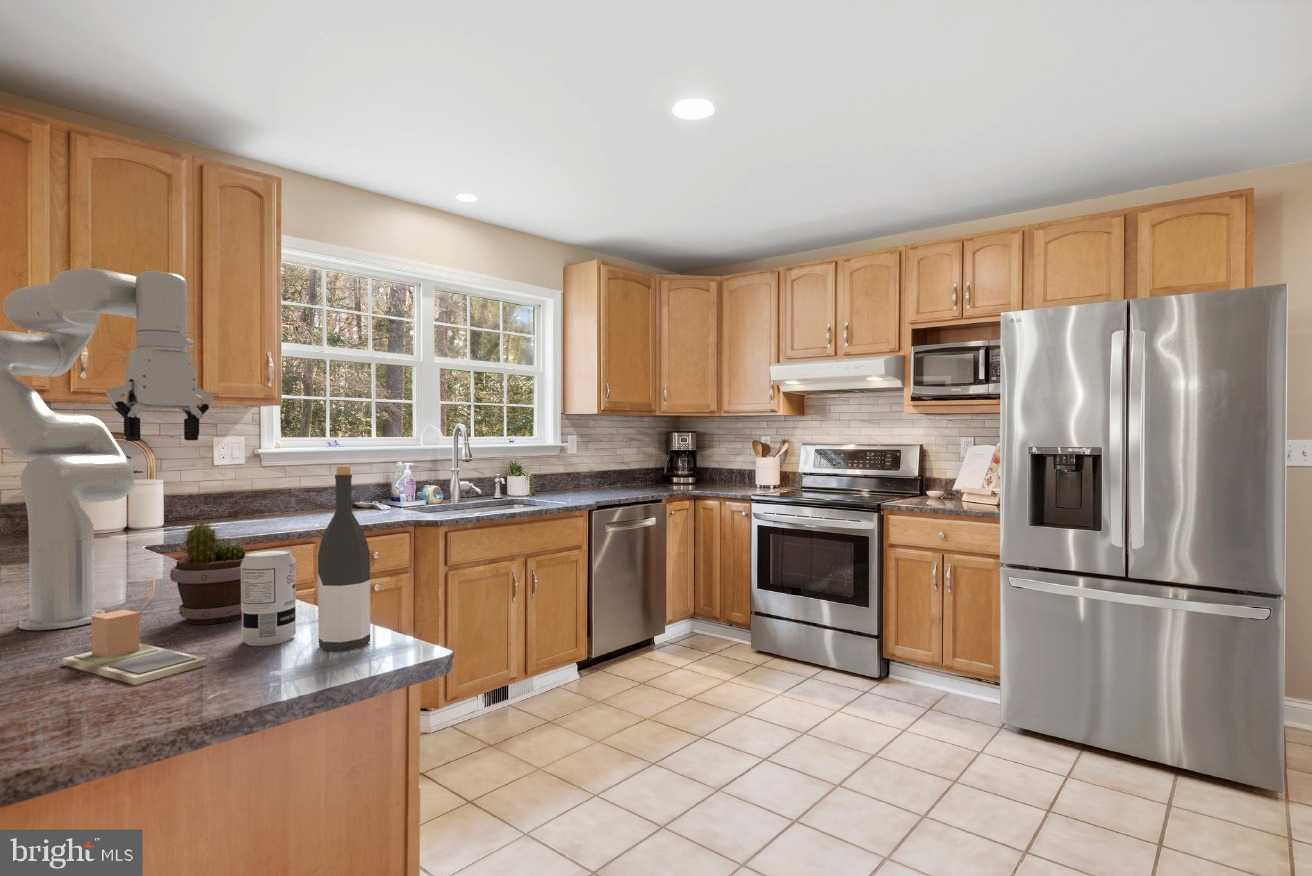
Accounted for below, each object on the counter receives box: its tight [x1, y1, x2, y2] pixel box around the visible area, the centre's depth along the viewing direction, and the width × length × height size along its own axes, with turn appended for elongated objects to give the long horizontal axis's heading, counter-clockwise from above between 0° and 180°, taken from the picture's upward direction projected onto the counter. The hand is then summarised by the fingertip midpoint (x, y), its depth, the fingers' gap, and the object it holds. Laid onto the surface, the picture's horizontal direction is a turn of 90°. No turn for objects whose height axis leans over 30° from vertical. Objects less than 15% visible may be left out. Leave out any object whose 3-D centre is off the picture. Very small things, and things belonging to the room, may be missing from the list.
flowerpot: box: [169, 516, 248, 625], centre depth 141 cm, size 14×15×20 cm
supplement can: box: [240, 549, 297, 647], centre depth 125 cm, size 8×8×15 cm
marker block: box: [90, 609, 140, 658], centre depth 115 cm, size 4×4×6 cm
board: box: [62, 642, 208, 686], centre depth 112 cm, size 20×10×1 cm, turn 62°
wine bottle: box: [317, 465, 371, 652], centre depth 122 cm, size 8×8×30 cm
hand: (163, 440), depth 129 cm, fingers open, 9 cm apart
